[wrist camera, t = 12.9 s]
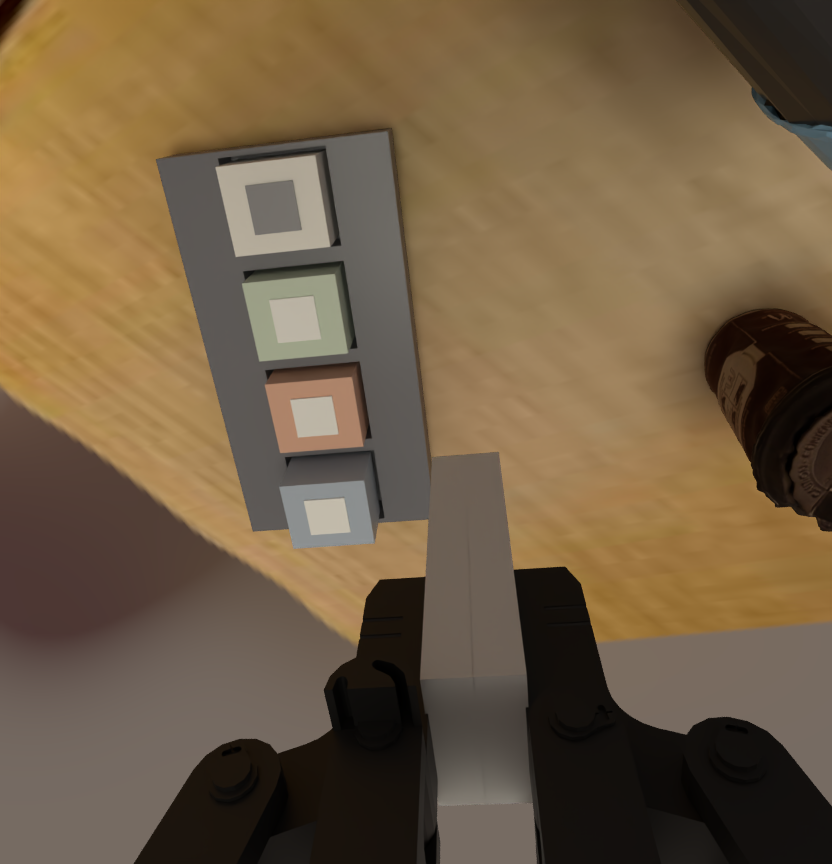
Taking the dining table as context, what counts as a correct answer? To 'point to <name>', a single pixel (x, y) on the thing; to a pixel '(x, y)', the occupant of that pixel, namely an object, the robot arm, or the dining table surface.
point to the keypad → (372, 345)
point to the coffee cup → (779, 404)
